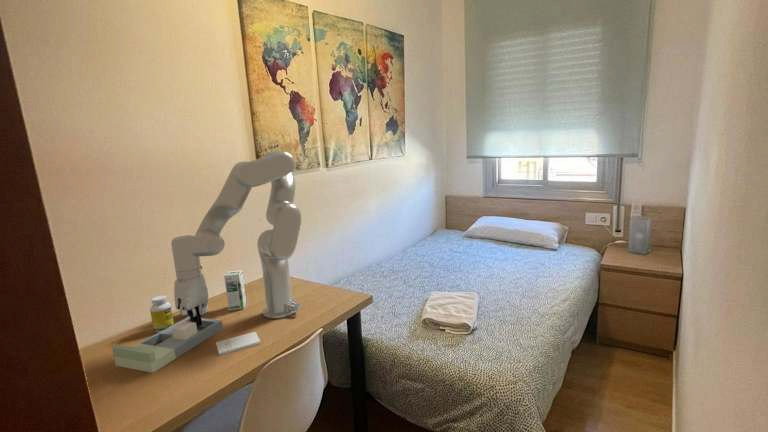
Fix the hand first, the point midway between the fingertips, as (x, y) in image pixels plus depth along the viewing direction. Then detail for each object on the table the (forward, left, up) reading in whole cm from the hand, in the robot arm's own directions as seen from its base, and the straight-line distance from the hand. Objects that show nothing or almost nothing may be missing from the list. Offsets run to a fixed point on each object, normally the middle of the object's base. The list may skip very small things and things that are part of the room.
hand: (196, 325), depth 133 cm
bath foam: (+16, -16, -4) cm, 23 cm away
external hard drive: (-17, +1, -5) cm, 18 cm away
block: (0, +5, -1) cm, 5 cm away
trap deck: (+3, +7, -4) cm, 9 cm away
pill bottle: (+18, -2, -4) cm, 19 cm away
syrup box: (+4, -24, -4) cm, 25 cm away
